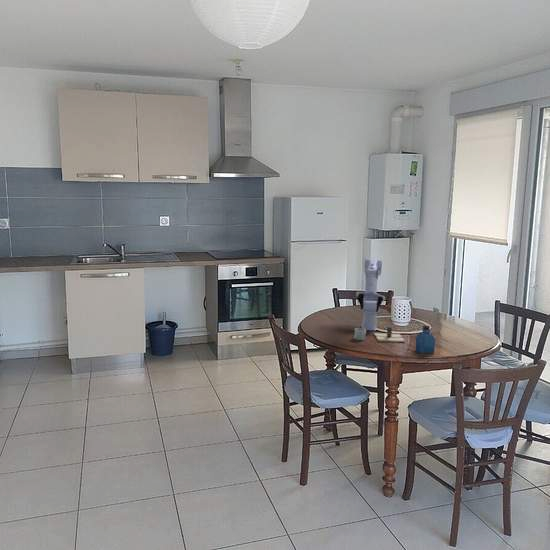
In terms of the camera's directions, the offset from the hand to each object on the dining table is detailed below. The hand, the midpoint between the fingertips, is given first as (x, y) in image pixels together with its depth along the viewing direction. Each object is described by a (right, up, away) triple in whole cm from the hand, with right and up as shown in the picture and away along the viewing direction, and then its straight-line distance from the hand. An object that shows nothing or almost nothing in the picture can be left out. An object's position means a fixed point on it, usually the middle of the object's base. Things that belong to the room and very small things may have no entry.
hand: (369, 309), depth 265 cm
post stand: (+11, -15, +5) cm, 19 cm away
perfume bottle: (+23, -19, -14) cm, 33 cm away
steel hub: (-4, -15, +4) cm, 16 cm away
